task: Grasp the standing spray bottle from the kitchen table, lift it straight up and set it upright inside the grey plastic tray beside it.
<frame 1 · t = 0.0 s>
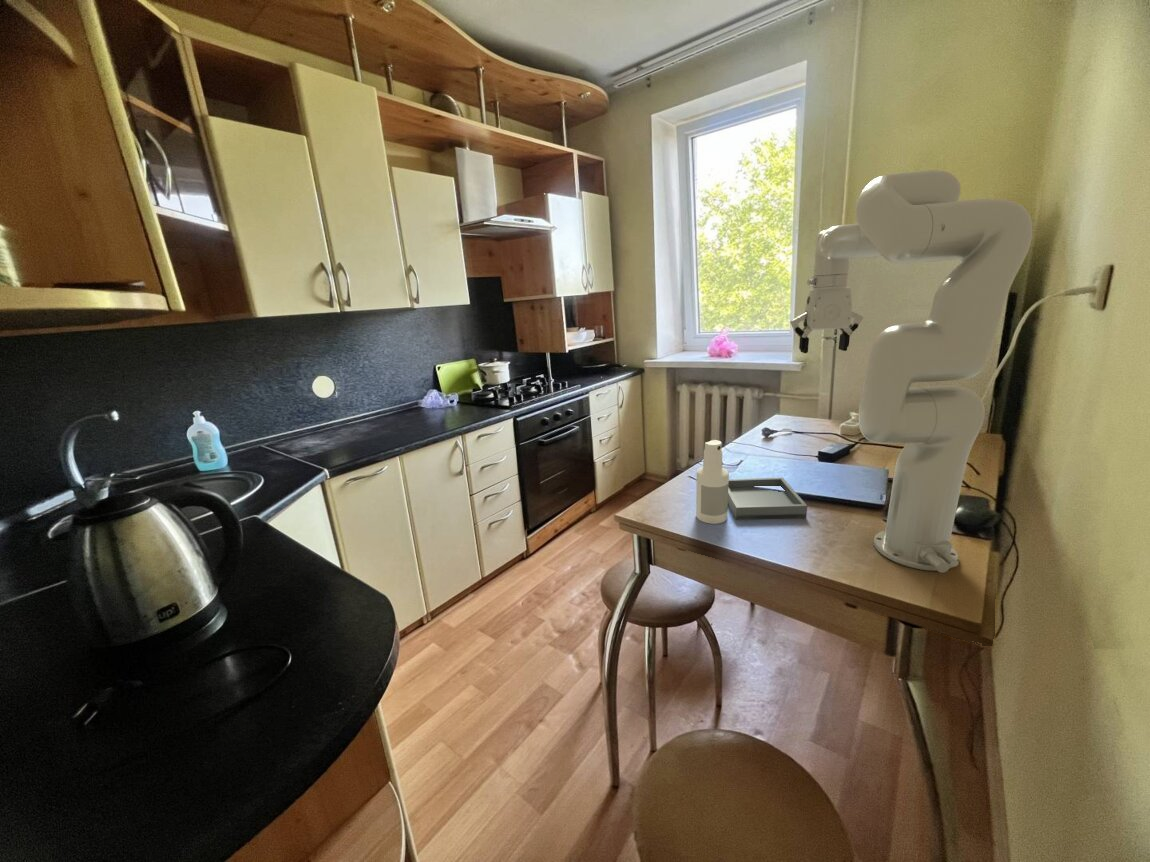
hand: (823, 351, 117), 31 cm above the table, tool pointing down, fingers open, 9 cm apart
tray: (760, 503, 106), on the table
spray bottle: (711, 517, 102), on the table
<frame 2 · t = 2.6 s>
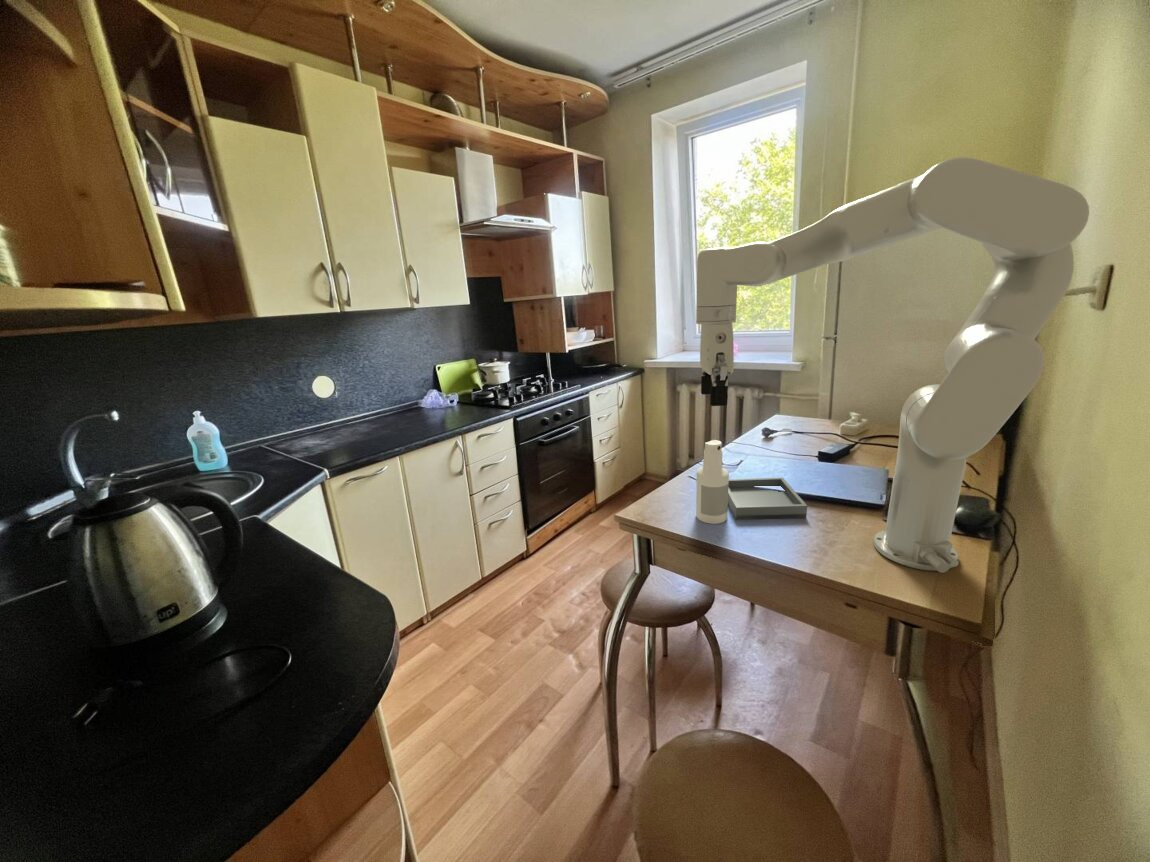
hand: (713, 399, 94), 27 cm above the table, tool pointing down, fingers open, 9 cm apart
nothing on the table moved.
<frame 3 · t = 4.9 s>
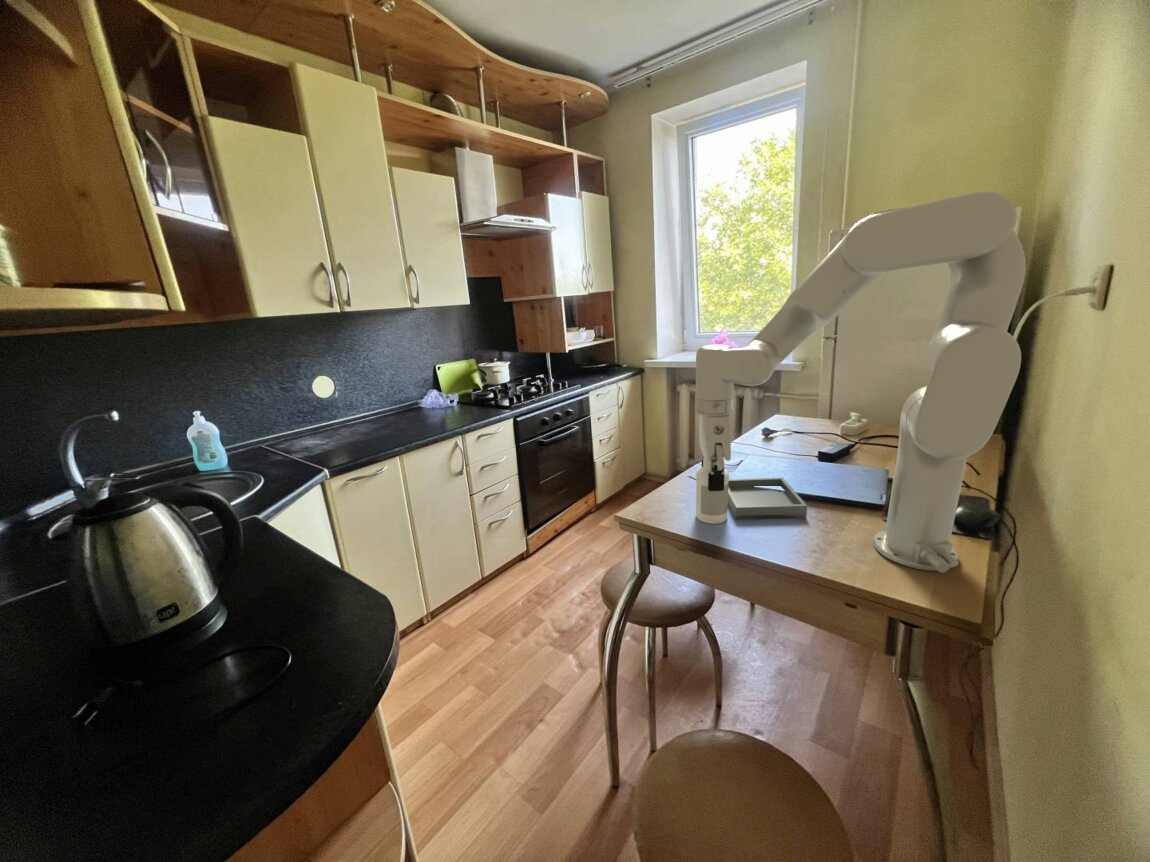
hand: (712, 482, 99), 9 cm above the table, tool pointing down, fingers closed on spray bottle, 6 cm apart
spray bottle: (711, 517, 102), on the table, touching gripper
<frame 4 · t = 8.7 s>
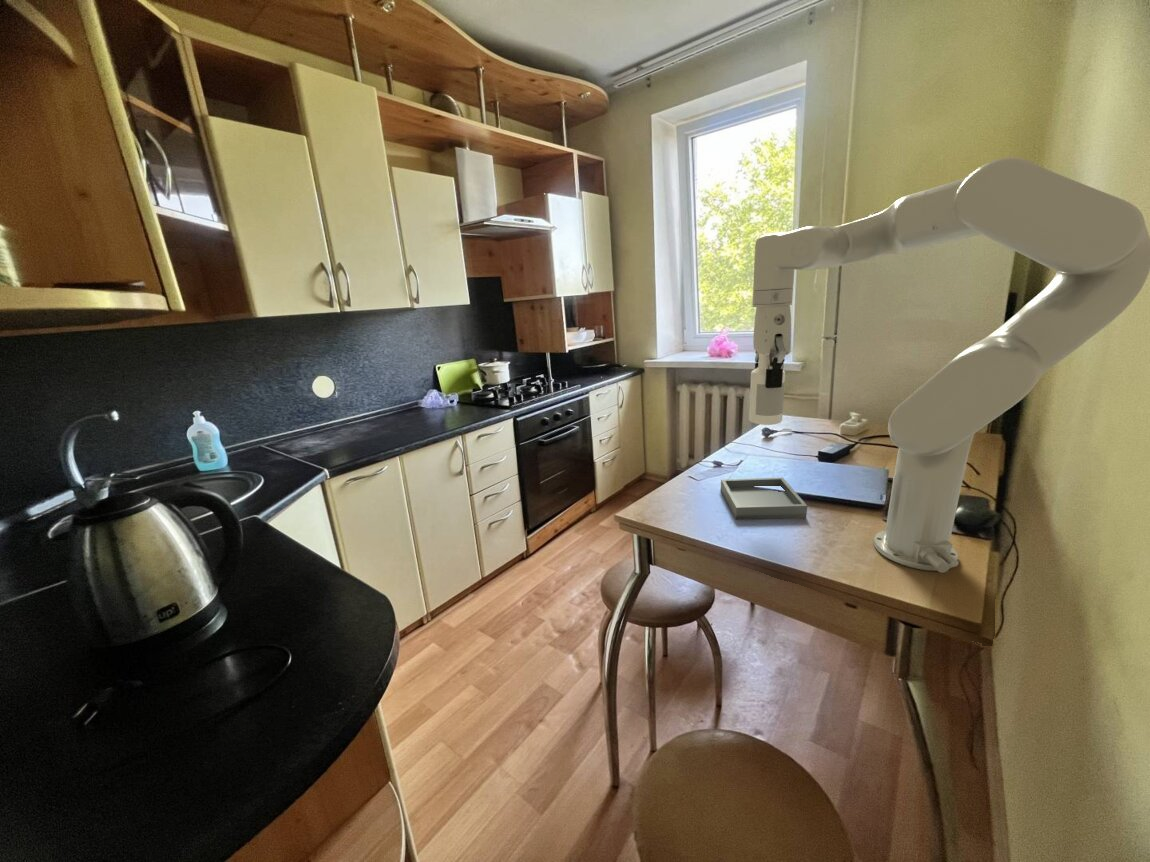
hand: (767, 383, 97), 29 cm above the table, tool pointing down, fingers closed on spray bottle, 6 cm apart
spray bottle: (765, 421, 100), point 20 cm above the table, touching gripper
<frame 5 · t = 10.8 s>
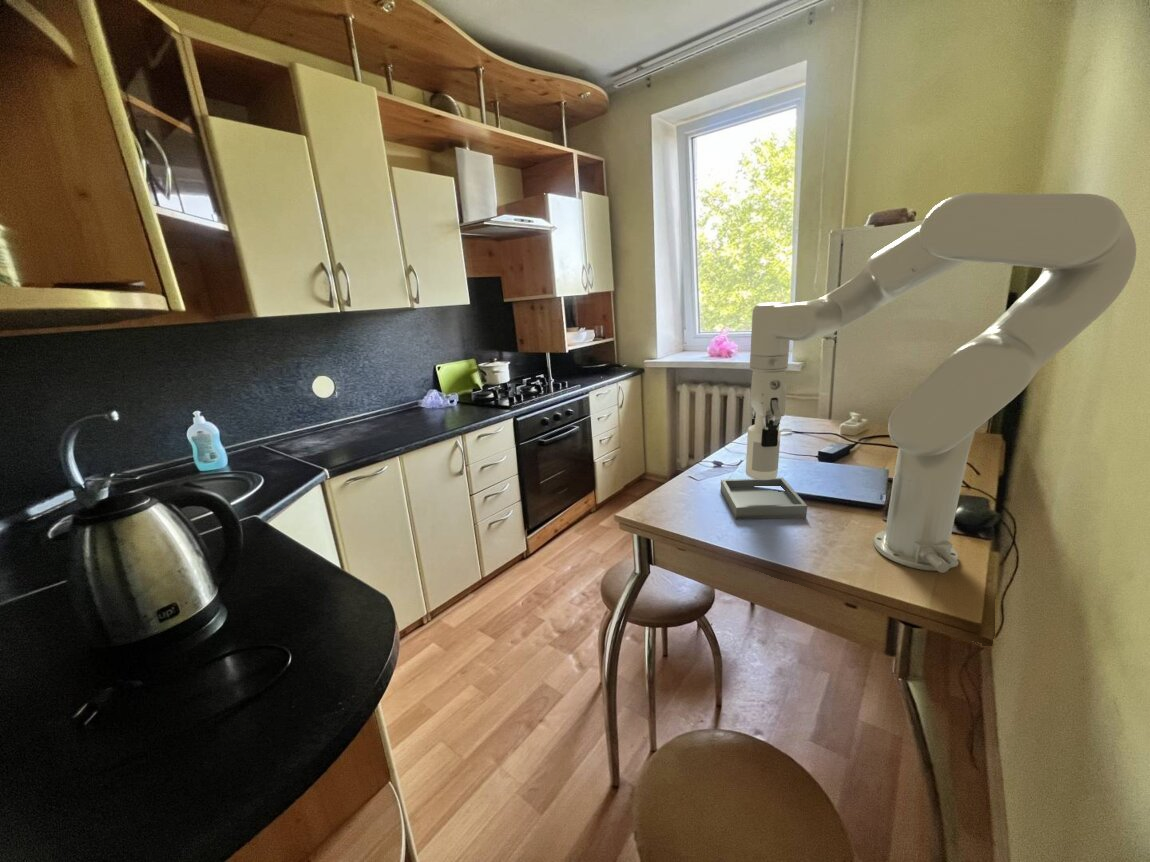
hand: (763, 439, 102), 16 cm above the table, tool pointing down, fingers closed on spray bottle, 6 cm apart
spray bottle: (761, 475, 104), point 7 cm above the table, touching gripper
when the fingers open (11 cm above the table, at t = 12.5 s): spray bottle drops 1 cm, resting on tray.
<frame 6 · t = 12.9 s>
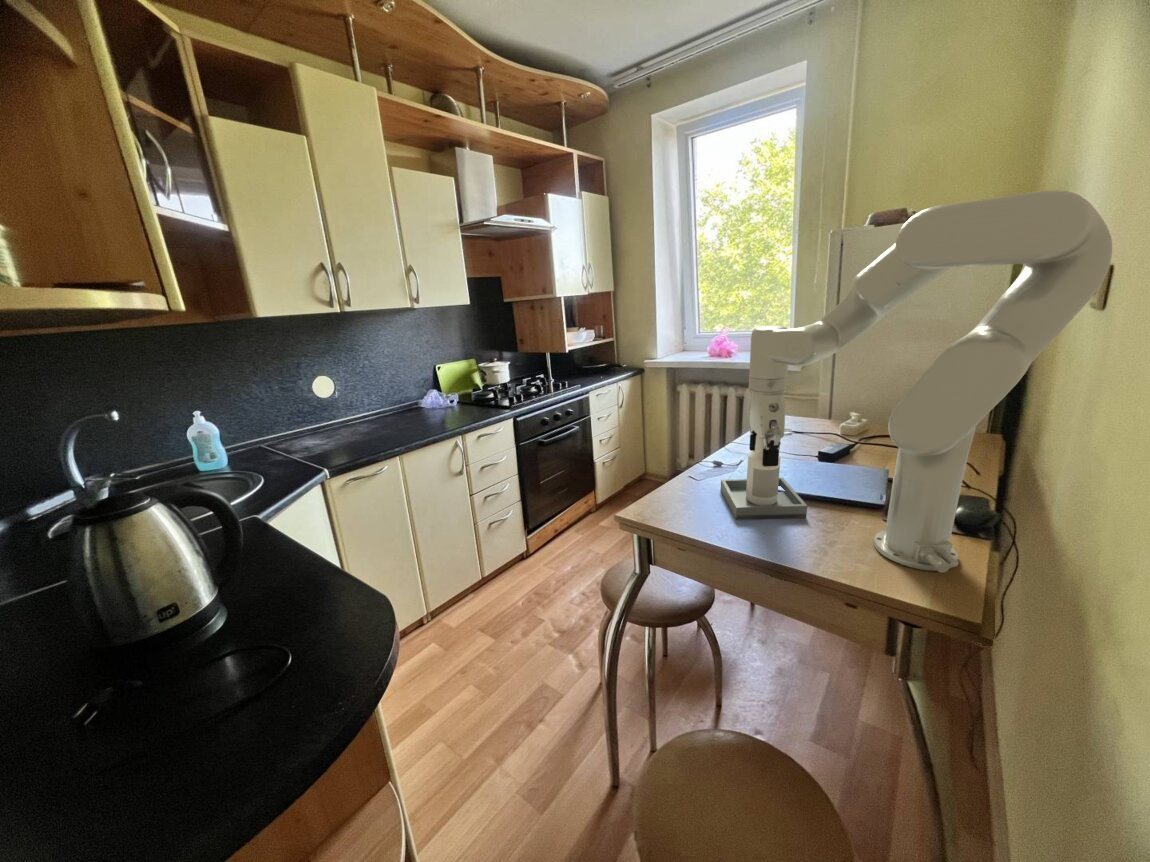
hand: (763, 457, 103), 12 cm above the table, tool pointing down, fingers open, 9 cm apart
spray bottle: (761, 500, 106), point 1 cm above the table, touching tray
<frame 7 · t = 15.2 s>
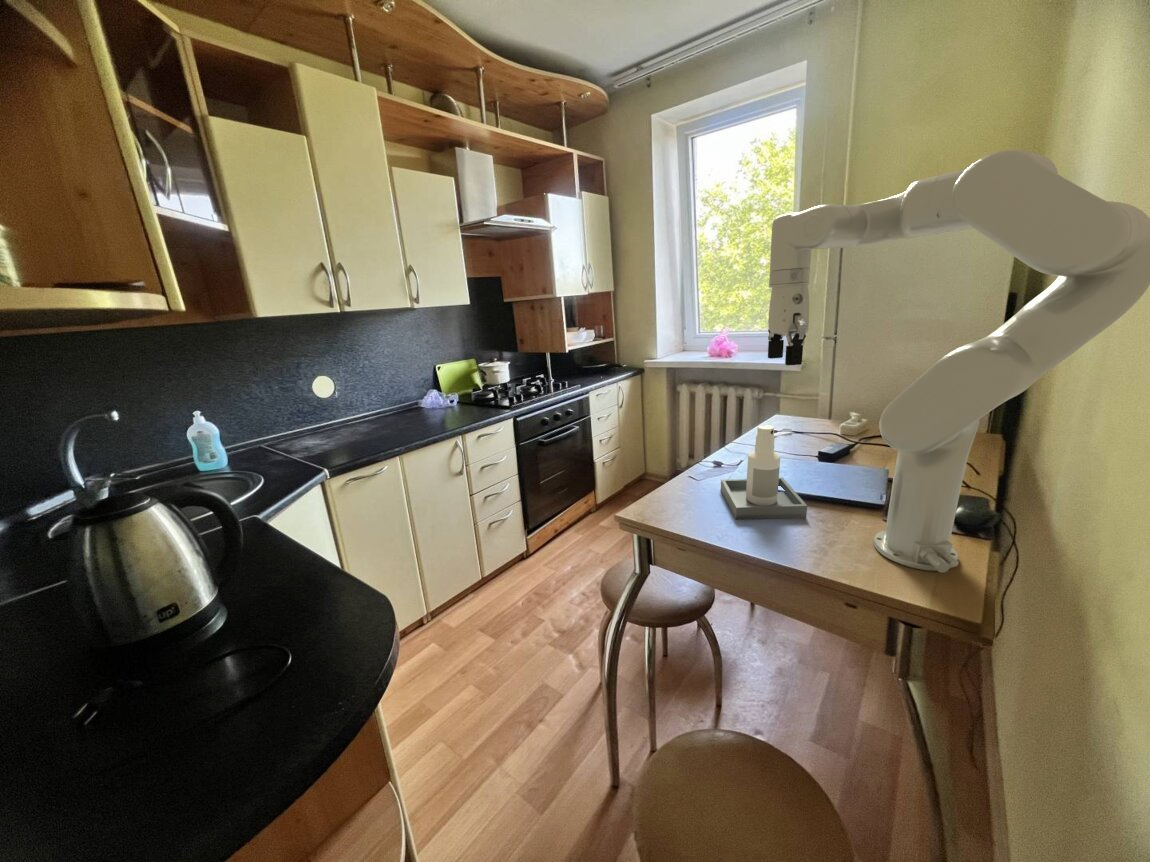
hand: (783, 361, 98), 33 cm above the table, tool pointing down, fingers open, 9 cm apart
nothing on the table moved.
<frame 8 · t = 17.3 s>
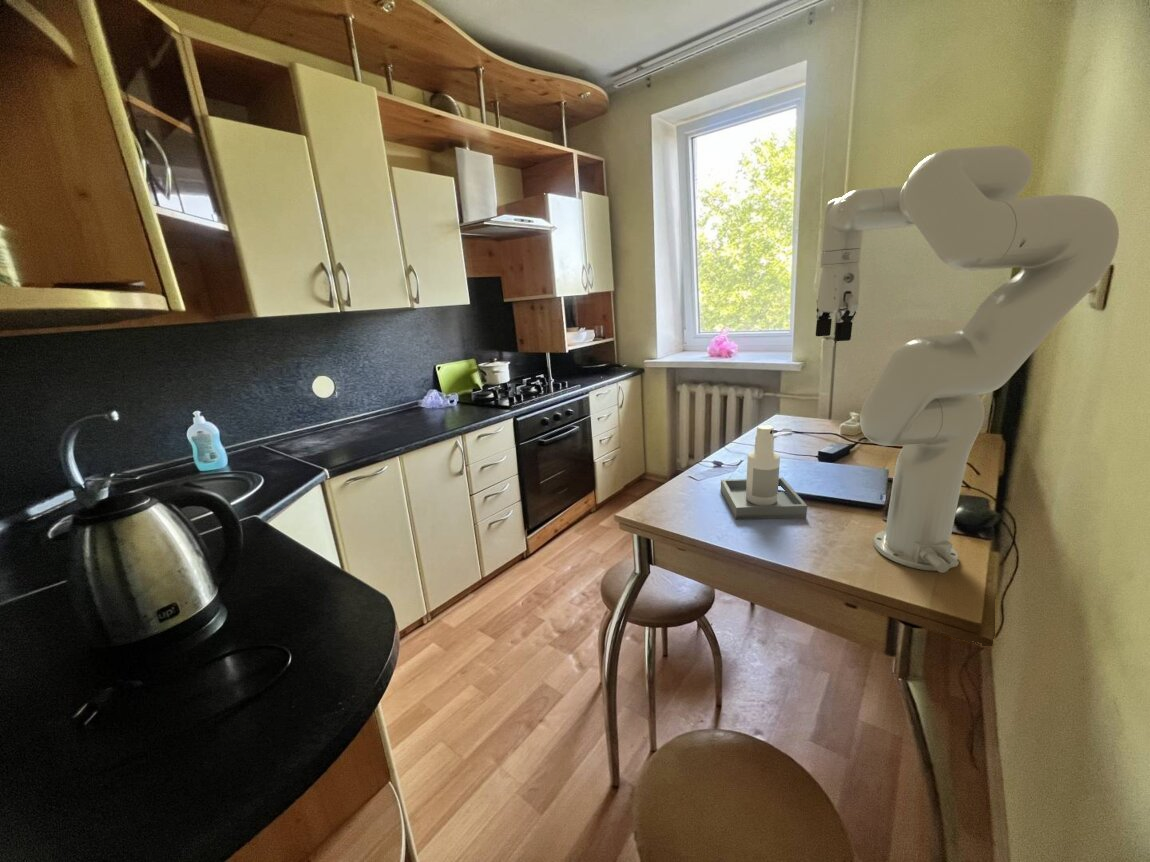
hand: (832, 338, 104), 36 cm above the table, tool pointing down, fingers open, 9 cm apart
nothing on the table moved.
at the end: spray bottle inside the target area on the tray (0.1 cm from its centre), point 0.8 cm above the tray's base; spray bottle tilted 0°; the gripper is holding nothing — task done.
